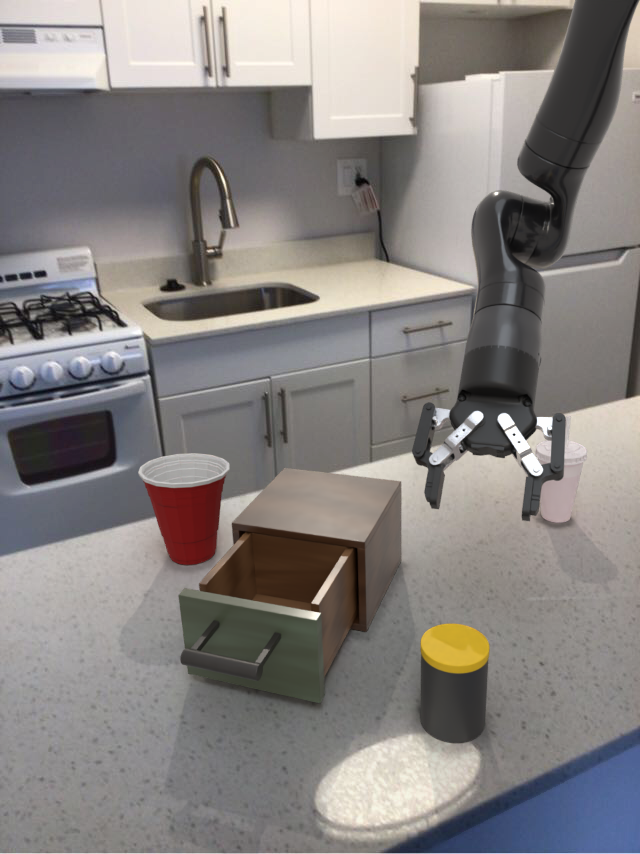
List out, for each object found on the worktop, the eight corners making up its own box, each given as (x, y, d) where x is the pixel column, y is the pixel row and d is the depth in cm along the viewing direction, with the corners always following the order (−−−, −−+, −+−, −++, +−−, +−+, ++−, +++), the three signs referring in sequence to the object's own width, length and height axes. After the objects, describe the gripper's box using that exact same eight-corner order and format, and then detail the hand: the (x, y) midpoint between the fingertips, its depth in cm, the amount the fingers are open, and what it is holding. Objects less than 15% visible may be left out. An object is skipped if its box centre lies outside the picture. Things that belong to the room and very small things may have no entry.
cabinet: (366, 632, 78) (365, 542, 74) (238, 608, 83) (231, 522, 79) (401, 560, 91) (401, 481, 87) (289, 543, 96) (284, 467, 92)
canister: (490, 704, 68) (494, 629, 65) (480, 750, 63) (484, 671, 60) (427, 691, 70) (428, 618, 67) (412, 735, 65) (413, 658, 62)
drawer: (297, 750, 62) (291, 662, 59) (155, 715, 67) (143, 631, 64) (364, 617, 79) (362, 543, 76) (248, 596, 83) (242, 525, 80)
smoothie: (588, 526, 97) (598, 424, 92) (538, 528, 97) (545, 426, 92) (572, 503, 103) (581, 407, 98) (525, 505, 103) (531, 408, 98)
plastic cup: (253, 541, 97) (247, 454, 92) (204, 584, 88) (194, 490, 83) (184, 525, 101) (175, 442, 97) (131, 564, 92) (118, 474, 88)
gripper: (426, 338, 76) (398, 490, 70) (576, 346, 71) (558, 509, 65) (436, 374, 82) (411, 515, 76) (573, 383, 78) (558, 534, 72)
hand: (479, 512), depth 71 cm, fingers open, 8 cm apart
